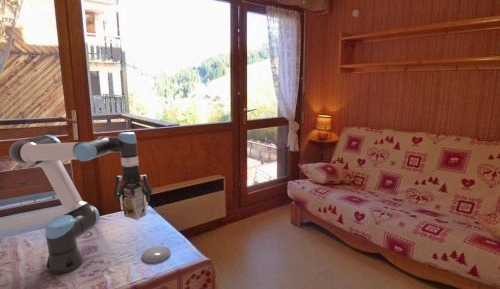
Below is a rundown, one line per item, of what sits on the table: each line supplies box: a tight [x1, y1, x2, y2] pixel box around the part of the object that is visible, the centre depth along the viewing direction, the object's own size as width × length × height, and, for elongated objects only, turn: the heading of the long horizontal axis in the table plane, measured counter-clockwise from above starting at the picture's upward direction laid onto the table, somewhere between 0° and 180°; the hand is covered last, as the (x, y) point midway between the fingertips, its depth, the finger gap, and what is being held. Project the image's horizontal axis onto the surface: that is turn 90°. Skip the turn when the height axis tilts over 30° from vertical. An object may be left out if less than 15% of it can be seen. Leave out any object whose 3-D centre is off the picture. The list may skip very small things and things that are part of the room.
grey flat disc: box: [141, 245, 171, 265], centre depth 151 cm, size 14×14×1 cm
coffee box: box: [120, 183, 147, 221], centre depth 143 cm, size 9×6×16 cm
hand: (134, 208), depth 144 cm, fingers closed on coffee box, 10 cm apart
